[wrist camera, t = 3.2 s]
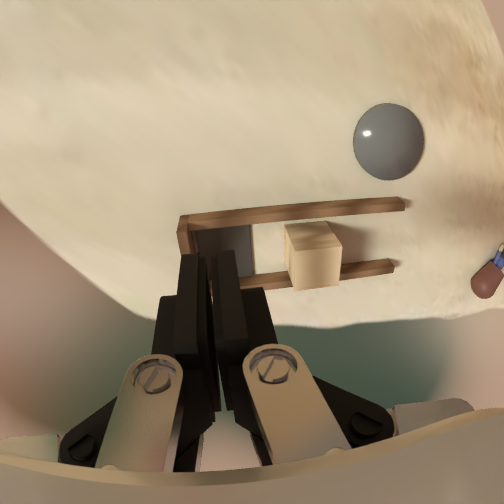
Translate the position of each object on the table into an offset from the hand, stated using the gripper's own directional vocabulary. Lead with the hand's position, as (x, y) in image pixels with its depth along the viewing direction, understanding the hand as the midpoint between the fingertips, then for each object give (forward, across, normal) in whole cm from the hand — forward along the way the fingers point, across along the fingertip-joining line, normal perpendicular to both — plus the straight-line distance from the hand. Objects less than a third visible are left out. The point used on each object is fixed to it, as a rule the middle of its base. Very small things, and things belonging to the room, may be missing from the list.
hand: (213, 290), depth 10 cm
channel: (+24, -9, +12) cm, 29 cm away
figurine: (+24, -45, +19) cm, 55 cm away
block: (+24, -10, +12) cm, 29 cm away
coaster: (+24, -20, 0) cm, 31 cm away
